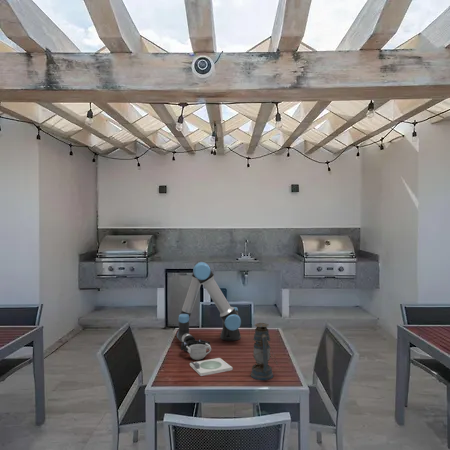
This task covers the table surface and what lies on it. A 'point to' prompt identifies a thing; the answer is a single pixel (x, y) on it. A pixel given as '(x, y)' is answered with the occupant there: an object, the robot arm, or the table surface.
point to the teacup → (198, 351)
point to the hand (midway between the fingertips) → (200, 349)
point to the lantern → (262, 353)
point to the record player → (210, 366)
